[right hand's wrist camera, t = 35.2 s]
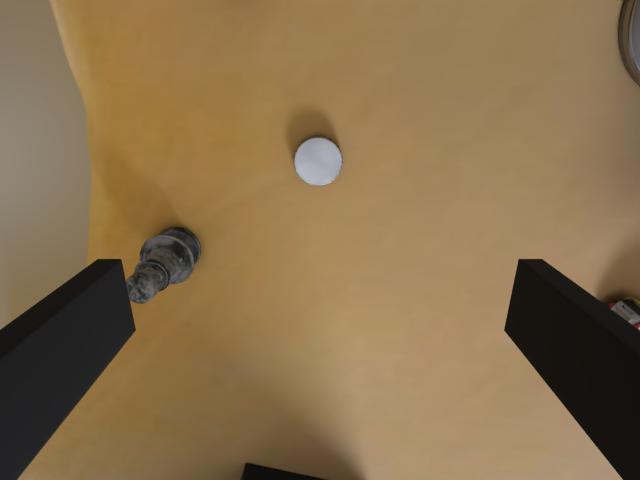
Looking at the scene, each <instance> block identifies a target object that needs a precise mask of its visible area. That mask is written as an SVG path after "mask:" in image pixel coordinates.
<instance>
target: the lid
mask: <svg viewBox="0 0 640 480" xmlns="http://www.w3.org/2000/svg"><path fill="white" fill-rule="evenodd" d="M295 153H296V154H295V156H294V165H295V169H296V172H297V174H298V175H299V177H300V178H301V179H302V180H303V181H305V182H306V183H308V184H311V185H315V186H322V185H326V184H328V183H330V182H332V181H333V180H334V179H335V178H336V177H337V176H338V174H339V173H340V170H341V168H342V163H343V162H342V156H341V151H340V150H339V147H338V146H337V145H336V143H335V142H333V141H332V140H331V139H328V138H327V137H322V136H321V135H320V136H316V135H315V136H314V137H310V138H308V139H305V141H303V142H301V145H300V146H298V149H297V151H296V152H295Z"/></svg>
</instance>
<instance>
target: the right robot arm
mask: <svg viewBox="0 0 640 480" xmlns="http://www.w3.org/2000/svg"><path fill="white" fill-rule="evenodd" d="M619 45H620V52H621V56H622V60H623V62H624V65H625V67H626V69H627V71H628V73H629V74H630V76H631V77H632V78H633V79H634V80H635V82H637V83H638V84H639V85H640V0H625V3H624V6H623V10H622V14H621V19H620V26H619ZM135 330H136V329H135V324H134V319H133V314H132V309H131V304H130V300H129V295H128V290H127V285H126V280H125V275H124V270H123V265H122V261H121V259H98V260H96V261H95V262H93V263H92V264H91V265H89V266H88V267H86V268H85V269H84V270H82V271H81V272H80V273H78V274H77V275H75V276H74V277H73V278H71V279H70V280H69V281H67V282H66V283H64V284H63V285H62V286H60V287H59V288H57V289H56V290H55V291H53V292H52V293H51V294H49V295H48V296H46V297H45V298H44V299H42V300H41V301H40V302H38V303H37V304H35V305H34V306H33V307H31V308H30V309H28V310H27V311H26V312H24V313H23V314H22V315H20V316H19V317H17V318H16V319H15V320H13V321H12V322H11V323H9V324H8V325H6V326H5V327H4V328H2V329H1V330H0V480H17V479H18V478H19V476H20V475H21V474H22V473H23V471H24V470H25V469H26V468H27V466H28V465H29V464H30V463H31V461H32V460H33V459H34V458H35V456H36V455H37V454H38V452H39V451H40V450H41V449H42V447H43V446H44V445H45V444H46V442H47V441H48V440H49V439H50V437H51V436H52V435H53V434H54V432H55V431H56V430H57V429H58V427H59V426H60V425H61V424H62V422H63V421H64V420H65V419H66V417H67V416H68V415H69V413H70V412H71V411H72V410H73V408H74V407H75V406H76V405H77V403H78V402H79V401H80V400H81V398H82V397H83V396H84V395H85V393H86V392H87V391H88V390H89V388H90V387H91V386H92V385H93V383H94V382H95V381H96V380H97V378H98V377H99V376H100V374H101V373H102V372H103V371H104V369H105V368H106V367H107V366H108V364H109V363H110V362H111V361H112V359H113V358H114V357H115V356H116V354H117V353H118V352H119V351H120V349H121V348H122V347H123V346H124V344H125V343H126V342H127V341H128V339H129V338H130V337H131V336H132V334H133V333H134V332H135ZM504 330H505V332H506V333H507V334H508V336H509V337H510V338H511V339H512V341H513V342H514V343H515V344H516V346H517V347H518V348H519V349H520V351H521V352H522V353H523V354H524V356H525V357H526V358H527V359H528V361H529V362H530V363H531V364H532V366H533V367H534V368H535V369H536V371H537V372H538V373H539V375H540V376H541V377H542V378H543V380H544V381H545V382H546V383H547V385H548V386H549V387H550V388H551V390H552V391H553V392H554V393H555V395H556V396H557V397H558V398H559V400H560V401H561V402H562V403H563V405H564V406H565V407H566V408H567V410H568V411H569V412H570V413H571V415H572V416H573V417H574V419H575V420H576V421H577V422H578V424H579V425H580V426H581V427H582V429H583V430H584V431H585V432H586V434H587V435H588V436H589V437H590V439H591V440H592V441H593V442H594V444H595V445H596V446H597V447H598V449H599V450H600V451H601V452H602V454H603V455H604V456H605V458H606V459H607V460H608V461H609V463H610V464H611V465H612V466H613V468H614V469H615V470H616V471H617V473H618V474H619V475H620V476H621V478H622V479H623V480H640V330H639V329H638V328H636V327H635V326H634V325H632V324H631V323H629V322H628V321H627V320H625V319H624V318H623V317H621V316H620V315H618V314H617V313H616V312H614V311H613V310H612V309H610V308H609V307H607V306H606V305H605V304H603V303H602V302H600V301H599V300H598V299H596V298H595V297H594V296H592V295H591V294H589V293H588V292H587V291H585V290H584V289H583V288H581V287H580V286H578V285H577V284H576V283H574V282H573V281H571V280H570V279H569V278H567V277H566V276H565V275H563V274H562V273H560V272H559V271H558V270H556V269H555V268H554V267H552V266H551V265H549V264H548V263H547V262H545V261H544V260H542V259H519V261H518V265H517V270H516V275H515V280H514V285H513V290H512V295H511V300H510V304H509V309H508V314H507V319H506V324H505V329H504Z"/></svg>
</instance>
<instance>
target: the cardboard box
mask: <svg viewBox="0 0 640 480" xmlns="http://www.w3.org/2000/svg"><path fill="white" fill-rule="evenodd" d="M241 480H320V479H316V478H311V477H306V476H302V475H297V474H292V473H288V472H283V471H278V470H274V469H269V468H264V467H260V466H255V465H250V464H246V465H245V468H244V471H243V474H242V477H241Z"/></svg>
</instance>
